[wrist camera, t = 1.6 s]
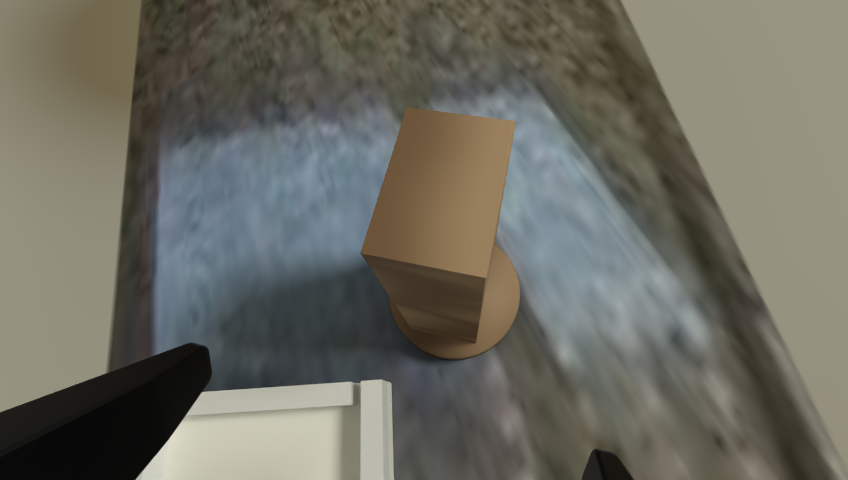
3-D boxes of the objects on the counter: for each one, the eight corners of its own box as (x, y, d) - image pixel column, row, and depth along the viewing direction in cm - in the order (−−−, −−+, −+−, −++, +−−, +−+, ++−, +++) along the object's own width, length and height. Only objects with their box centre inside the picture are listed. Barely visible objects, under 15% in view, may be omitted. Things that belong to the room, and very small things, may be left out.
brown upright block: (525, 250, 23) (581, 102, 12) (506, 373, 21) (553, 332, 9) (409, 229, 24) (362, 77, 13) (378, 343, 22) (286, 274, 11)
